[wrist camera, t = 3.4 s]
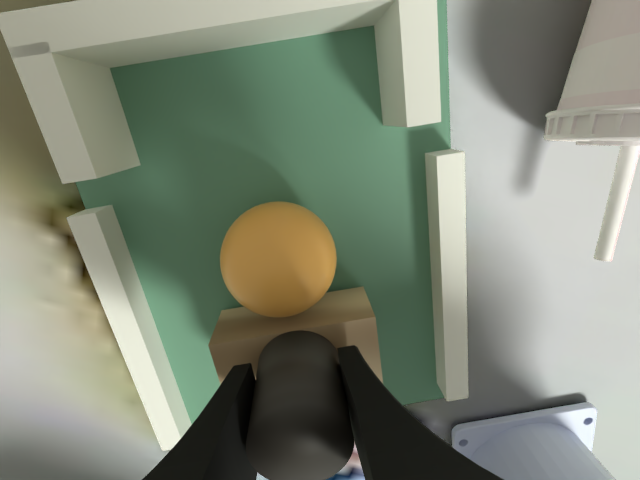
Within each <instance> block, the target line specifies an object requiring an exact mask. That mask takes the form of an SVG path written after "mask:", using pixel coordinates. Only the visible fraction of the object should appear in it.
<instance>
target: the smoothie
mask: <svg viewBox="0 0 640 480" xmlns="http://www.w3.org/2000/svg"><path fill="white" fill-rule="evenodd" d="M545 116H546V117H547V121H546V126H545V132H544V137H543V138H544V139H545V140H548V141H576V145H599V146H621V147H620V151H619V155H618V159H617V163H616V167H615V171H614V175H613V180H612V184H611V188H610V192H609V196H608V200H607V204H606V209H605V213H604V217H603V221H602V225H601V229H600V233H599V238H598V242H597V246H596V250H595V254H594V258H595V259H597V260H601V261H612V258H613V254H614V251H615V247H616V243H617V239H618V235H619V231H620V227H621V223H622V219H623V216H624V212H625V208H626V204H627V200H628V196H629V192H630V188H631V184H632V181H633V177H634V173H635V169H636V165H637V161H638V157H639V153H640V0H592V2H591V5H590V8H589V11H588V14H587V17H586V20H585V23H584V27H583V30H582V33H581V36H580V39H579V42H578V45H577V48H576V51H575V54H574V56H573V60H572V63H571V66H570V69H569V73H568V76H567V79H566V83H565V86H564V89H563V93H562V96H561V99H560V101H559V104H558V107H557V110H556V111H550V112H549V113H547V114H546V115H545Z"/></svg>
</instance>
